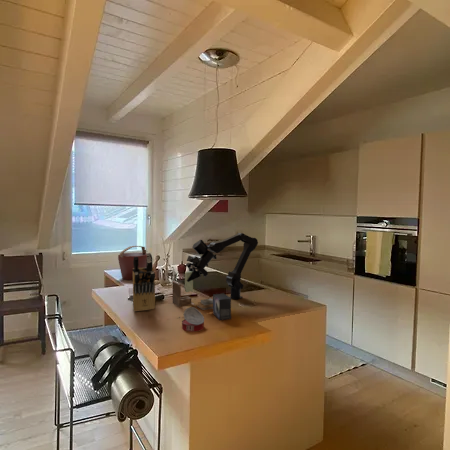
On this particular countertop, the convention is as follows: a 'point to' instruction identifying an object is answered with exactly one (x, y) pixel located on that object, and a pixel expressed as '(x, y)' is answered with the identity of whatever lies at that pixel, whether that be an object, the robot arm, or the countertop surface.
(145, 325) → the countertop surface
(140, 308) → the knife block
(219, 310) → the small box
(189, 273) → the green board
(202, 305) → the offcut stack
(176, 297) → the walnut rack
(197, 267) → the robot arm
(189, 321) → the canned food
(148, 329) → the countertop surface
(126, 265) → the bucket
